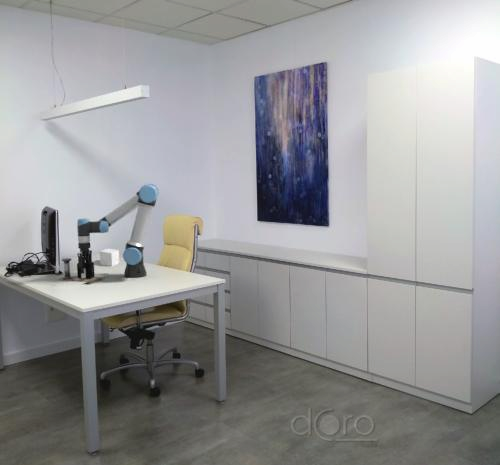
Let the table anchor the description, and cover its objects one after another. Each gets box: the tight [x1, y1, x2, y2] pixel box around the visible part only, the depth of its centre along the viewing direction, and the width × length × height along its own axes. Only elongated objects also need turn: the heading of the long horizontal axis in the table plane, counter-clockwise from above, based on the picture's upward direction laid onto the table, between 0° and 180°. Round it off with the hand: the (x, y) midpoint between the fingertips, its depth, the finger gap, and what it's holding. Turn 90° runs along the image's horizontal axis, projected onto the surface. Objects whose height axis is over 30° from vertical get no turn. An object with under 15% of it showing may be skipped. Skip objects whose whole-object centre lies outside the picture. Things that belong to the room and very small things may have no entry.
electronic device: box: [76, 261, 96, 278], centre depth 354 cm, size 4×10×10 cm, turn 78°
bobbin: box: [61, 257, 73, 279], centre depth 358 cm, size 6×6×13 cm
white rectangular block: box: [99, 248, 120, 267], centre depth 423 cm, size 14×29×10 cm, turn 21°
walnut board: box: [56, 275, 104, 285], centre depth 357 cm, size 27×15×2 cm, turn 74°
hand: (85, 277), depth 355 cm, fingers closed on electronic device, 4 cm apart
